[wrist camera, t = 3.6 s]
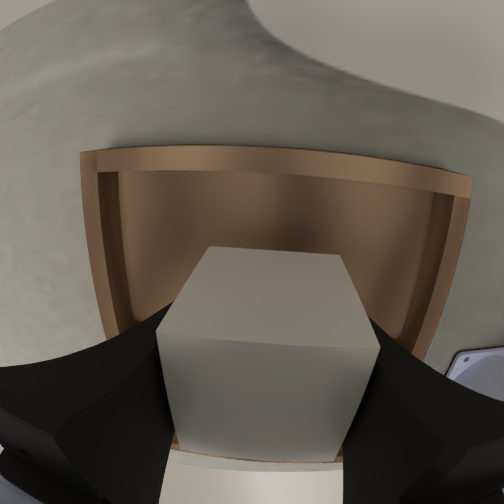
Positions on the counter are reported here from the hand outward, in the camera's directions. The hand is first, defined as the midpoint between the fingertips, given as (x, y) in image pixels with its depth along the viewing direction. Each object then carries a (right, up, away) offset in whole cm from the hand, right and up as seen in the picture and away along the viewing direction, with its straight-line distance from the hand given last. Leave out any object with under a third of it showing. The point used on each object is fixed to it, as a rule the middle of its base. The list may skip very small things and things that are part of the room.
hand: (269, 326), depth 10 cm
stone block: (0, 0, +1) cm, 1 cm away
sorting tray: (0, -2, +8) cm, 8 cm away
